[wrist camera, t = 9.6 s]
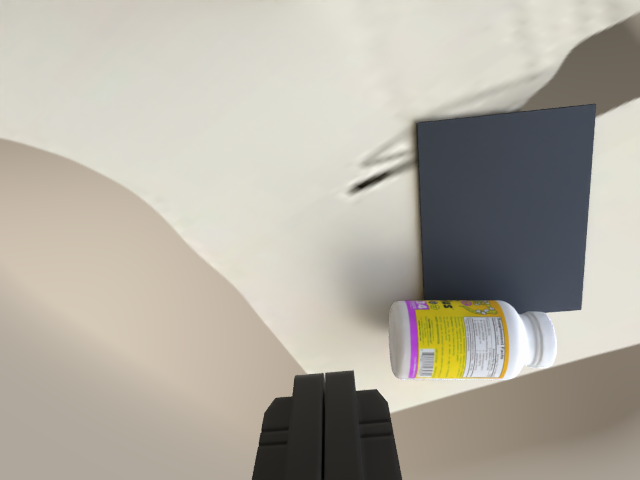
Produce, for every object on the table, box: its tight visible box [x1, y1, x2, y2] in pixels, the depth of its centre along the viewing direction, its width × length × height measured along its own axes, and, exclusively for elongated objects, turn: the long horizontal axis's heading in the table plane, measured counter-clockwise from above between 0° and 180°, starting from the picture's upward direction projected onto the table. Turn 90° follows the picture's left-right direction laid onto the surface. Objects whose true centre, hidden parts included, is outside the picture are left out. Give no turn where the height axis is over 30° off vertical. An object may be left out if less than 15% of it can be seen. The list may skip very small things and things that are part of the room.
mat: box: [417, 104, 596, 314], centre depth 40 cm, size 18×14×1 cm
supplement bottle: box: [389, 300, 556, 380], centre depth 39 cm, size 7×7×13 cm
